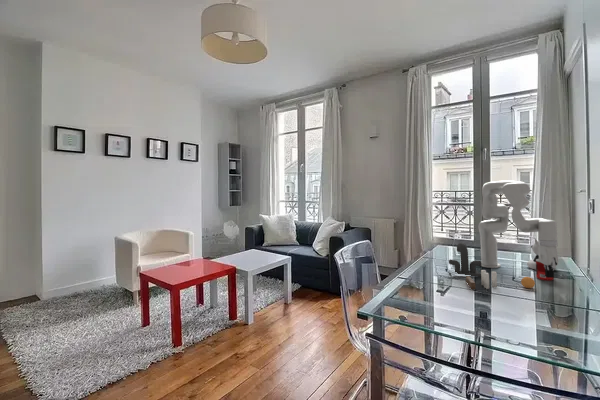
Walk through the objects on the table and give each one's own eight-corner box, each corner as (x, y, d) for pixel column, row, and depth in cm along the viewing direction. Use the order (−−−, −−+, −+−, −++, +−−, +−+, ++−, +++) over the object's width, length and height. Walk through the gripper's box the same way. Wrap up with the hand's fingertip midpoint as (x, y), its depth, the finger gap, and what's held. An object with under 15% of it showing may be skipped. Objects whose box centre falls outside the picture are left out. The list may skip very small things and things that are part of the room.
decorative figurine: (542, 264, 198) (541, 235, 197) (562, 270, 183) (562, 239, 182) (521, 266, 197) (520, 236, 196) (539, 272, 182) (539, 241, 181)
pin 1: (481, 284, 170) (480, 269, 170) (485, 284, 169) (485, 269, 169) (482, 285, 168) (481, 271, 167) (487, 285, 167) (486, 271, 167)
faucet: (475, 269, 197) (474, 240, 196) (483, 277, 182) (482, 245, 181) (445, 269, 202) (444, 240, 201) (451, 276, 186) (449, 245, 185)
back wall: (465, 282, 174) (465, 275, 174) (469, 282, 174) (469, 276, 173) (471, 289, 163) (471, 282, 163) (475, 289, 162) (475, 282, 162)
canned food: (557, 280, 167) (556, 261, 167) (541, 280, 169) (540, 262, 168) (548, 276, 175) (548, 258, 174) (533, 276, 177) (532, 258, 176)
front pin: (491, 286, 166) (490, 271, 166) (496, 286, 166) (495, 271, 165) (492, 287, 164) (492, 272, 164) (497, 287, 163) (497, 272, 163)
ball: (519, 285, 164) (518, 275, 164) (532, 286, 162) (531, 275, 162) (524, 289, 158) (523, 278, 158) (537, 290, 156) (537, 279, 156)
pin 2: (483, 287, 165) (483, 272, 165) (488, 287, 164) (488, 272, 164) (485, 288, 163) (484, 273, 162) (490, 288, 162) (489, 273, 162)
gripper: (533, 240, 164) (534, 273, 165) (546, 245, 150) (548, 281, 150) (549, 240, 162) (550, 273, 162) (564, 245, 148) (566, 281, 148)
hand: (549, 277), depth 156 cm, fingers closed
